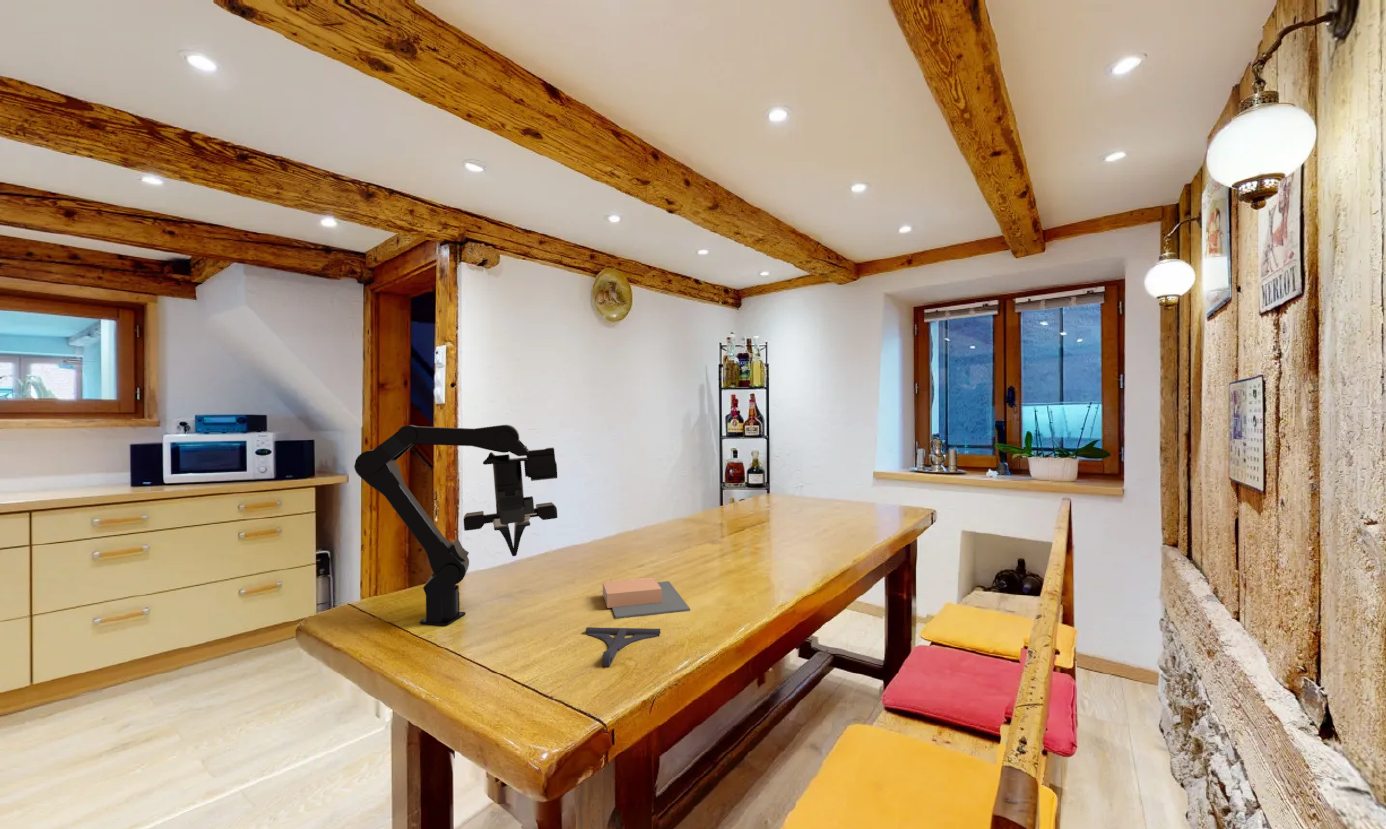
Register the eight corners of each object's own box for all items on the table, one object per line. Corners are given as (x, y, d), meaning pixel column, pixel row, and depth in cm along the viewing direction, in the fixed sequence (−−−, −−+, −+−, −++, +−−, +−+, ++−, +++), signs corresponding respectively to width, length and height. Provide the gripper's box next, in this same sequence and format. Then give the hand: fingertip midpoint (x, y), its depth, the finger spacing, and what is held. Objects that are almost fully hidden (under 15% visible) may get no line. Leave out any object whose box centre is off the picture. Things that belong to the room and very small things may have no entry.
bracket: (563, 670, 94) (563, 653, 94) (587, 634, 108) (587, 620, 108) (648, 673, 93) (648, 656, 92) (660, 636, 107) (660, 622, 107)
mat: (615, 618, 115) (615, 616, 115) (604, 588, 134) (604, 587, 134) (690, 610, 119) (690, 608, 119) (668, 582, 138) (668, 581, 138)
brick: (607, 594, 120) (661, 588, 123) (602, 581, 128) (653, 577, 132) (607, 608, 120) (661, 602, 123) (602, 594, 128) (653, 589, 132)
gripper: (460, 493, 108) (466, 573, 108) (557, 482, 114) (563, 557, 115) (461, 487, 118) (467, 559, 118) (551, 476, 125) (556, 545, 125)
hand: (514, 555), depth 119 cm, fingers closed
